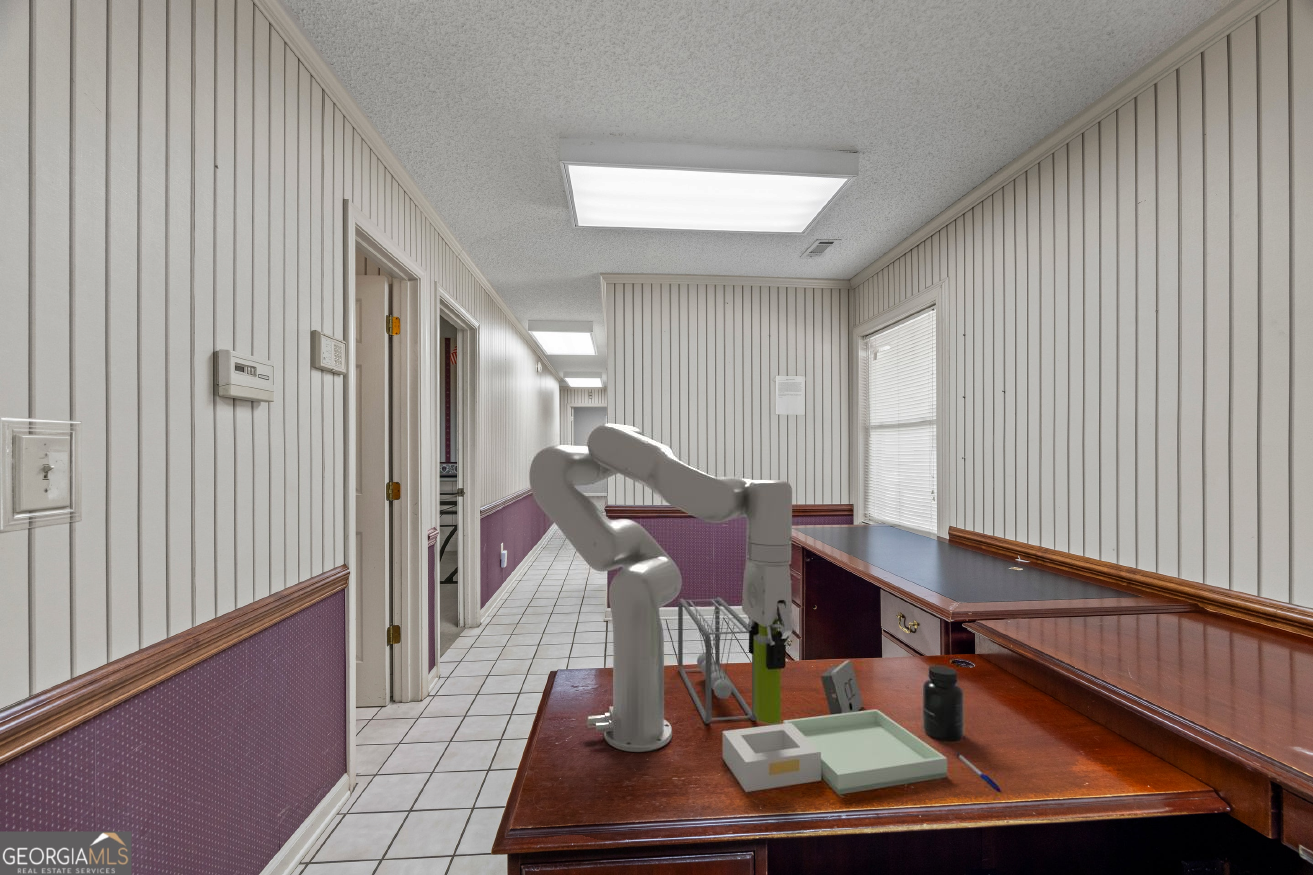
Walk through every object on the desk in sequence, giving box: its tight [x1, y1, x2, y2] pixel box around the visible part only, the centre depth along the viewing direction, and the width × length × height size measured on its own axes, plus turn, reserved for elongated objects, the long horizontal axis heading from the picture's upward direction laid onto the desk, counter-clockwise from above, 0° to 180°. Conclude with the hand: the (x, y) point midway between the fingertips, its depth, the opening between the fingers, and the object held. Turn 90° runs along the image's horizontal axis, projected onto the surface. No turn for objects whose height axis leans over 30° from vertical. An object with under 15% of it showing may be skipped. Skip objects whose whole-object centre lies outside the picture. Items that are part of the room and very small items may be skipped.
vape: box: [754, 620, 782, 725], centre depth 92 cm, size 4×6×20 cm, turn 3°
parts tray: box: [782, 709, 948, 796], centre depth 95 cm, size 20×18×3 cm
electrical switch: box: [820, 659, 864, 715], centre depth 113 cm, size 9×5×9 cm, turn 141°
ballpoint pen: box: [956, 753, 1001, 792], centre depth 90 cm, size 10×1×1 cm, turn 5°
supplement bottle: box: [922, 664, 965, 743], centre depth 103 cm, size 7×7×12 cm
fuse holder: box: [722, 723, 822, 793], centre depth 91 cm, size 13×10×4 cm
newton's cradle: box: [677, 596, 758, 725], centre depth 121 cm, size 30×10×18 cm, turn 8°
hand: (766, 659), depth 92 cm, fingers closed on vape, 6 cm apart
